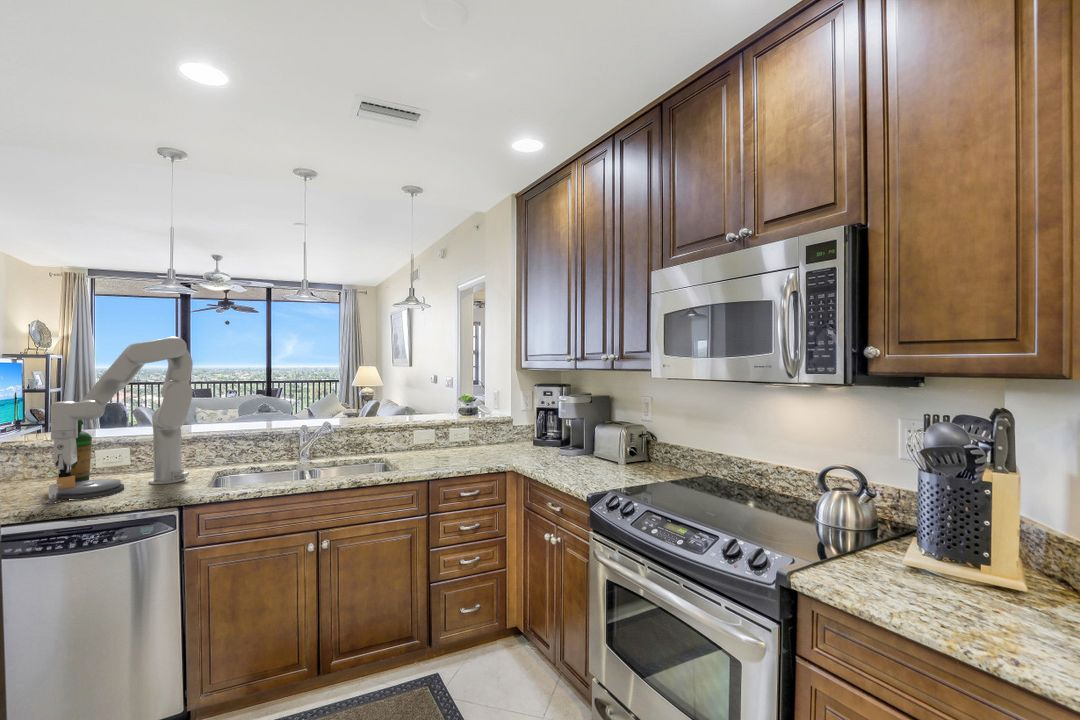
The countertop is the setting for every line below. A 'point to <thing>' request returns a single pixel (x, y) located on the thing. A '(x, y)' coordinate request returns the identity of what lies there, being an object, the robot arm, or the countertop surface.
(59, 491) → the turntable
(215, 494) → the countertop surface
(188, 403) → the robot arm
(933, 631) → the countertop surface
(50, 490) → the capsule on square base
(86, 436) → the bottle
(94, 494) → the turntable base
